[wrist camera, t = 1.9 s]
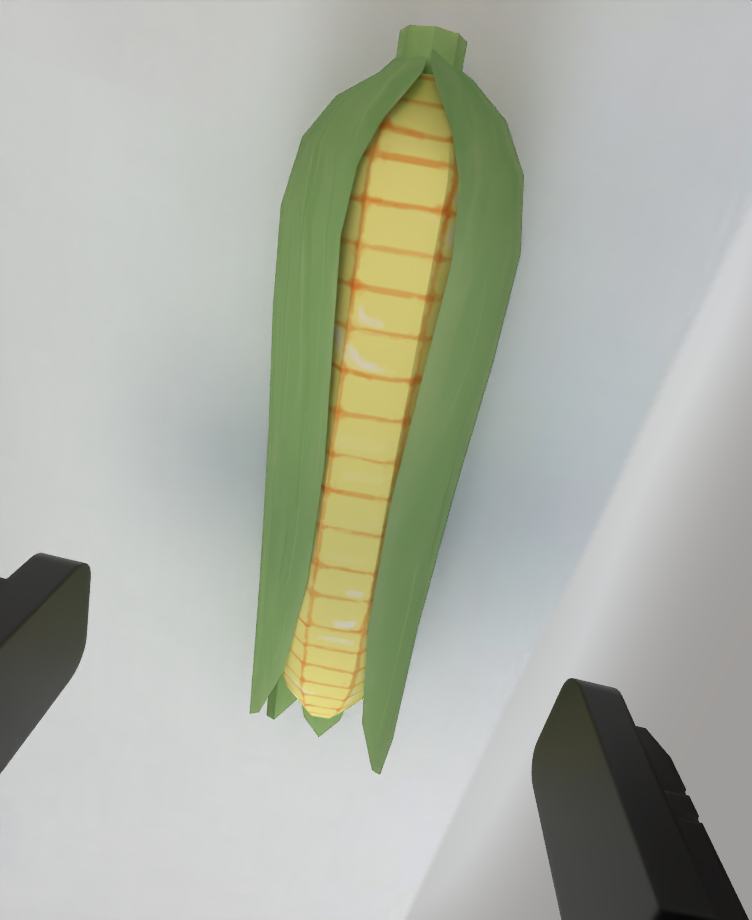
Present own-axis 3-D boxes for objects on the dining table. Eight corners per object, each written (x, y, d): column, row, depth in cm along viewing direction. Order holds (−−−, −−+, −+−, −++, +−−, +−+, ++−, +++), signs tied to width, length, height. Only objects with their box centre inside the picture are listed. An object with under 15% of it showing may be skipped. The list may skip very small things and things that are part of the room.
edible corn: (544, 87, 14) (602, 29, 9) (393, 739, 21) (388, 869, 17) (319, 48, 14) (275, -28, 9) (249, 714, 21) (207, 838, 17)
